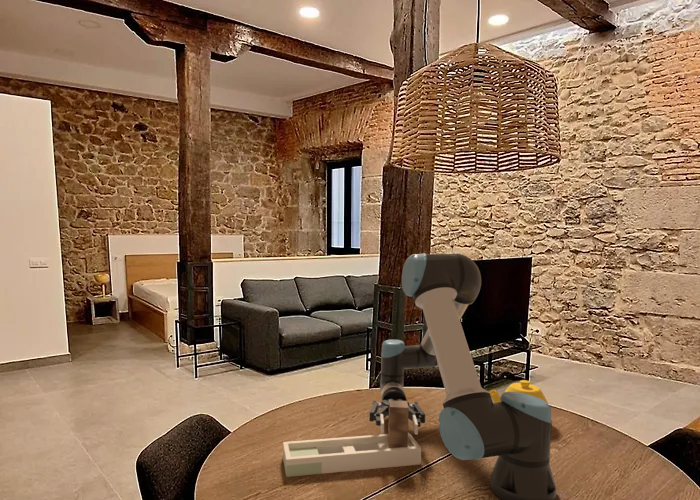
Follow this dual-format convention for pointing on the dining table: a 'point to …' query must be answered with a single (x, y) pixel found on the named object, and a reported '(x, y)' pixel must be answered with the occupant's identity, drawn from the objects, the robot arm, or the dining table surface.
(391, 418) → the walnut block
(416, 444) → the tray
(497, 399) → the teapot
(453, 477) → the dining table surface
